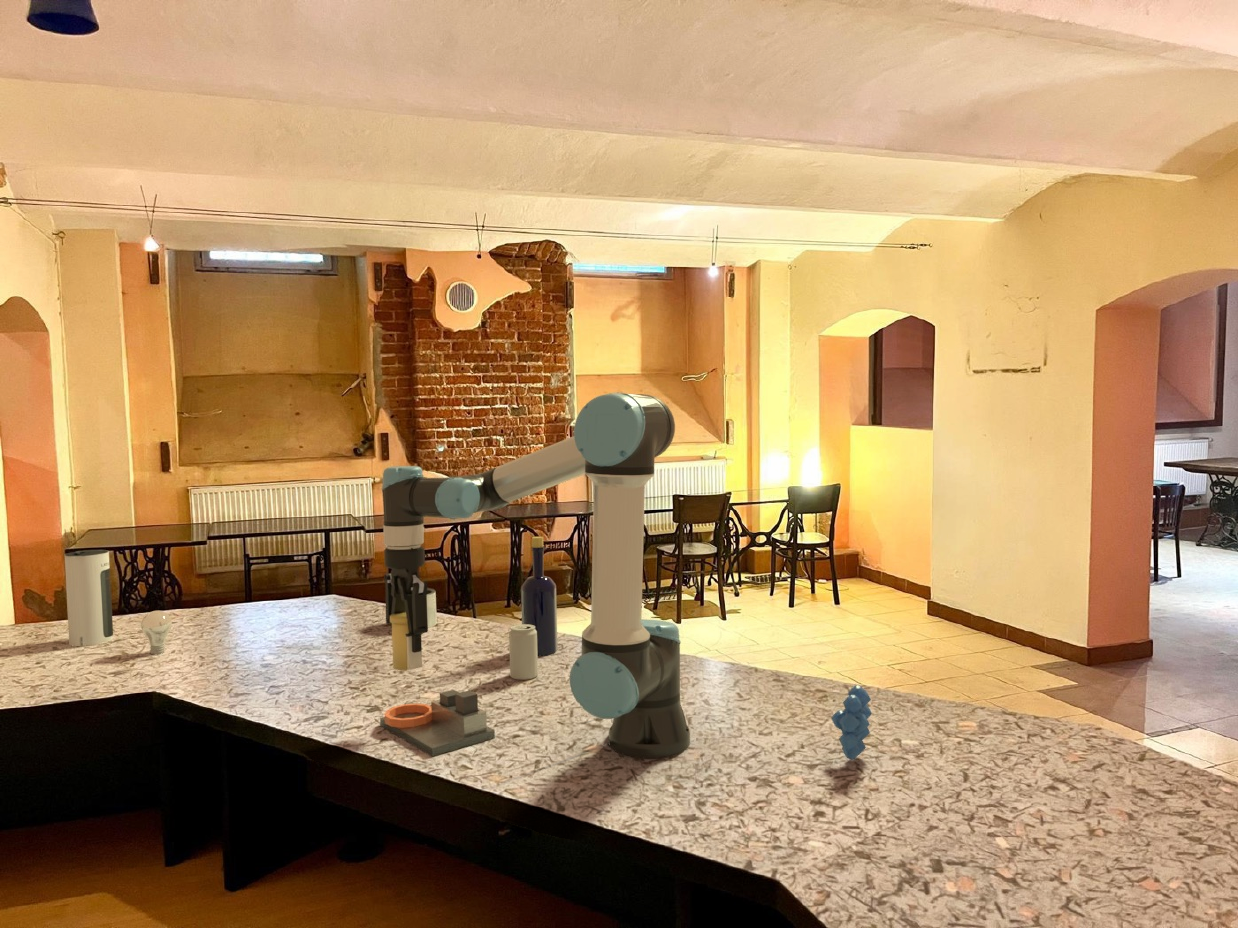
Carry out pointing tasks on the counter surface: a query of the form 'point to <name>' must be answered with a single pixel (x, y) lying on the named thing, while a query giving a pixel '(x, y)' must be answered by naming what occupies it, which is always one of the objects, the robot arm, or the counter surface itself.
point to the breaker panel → (444, 729)
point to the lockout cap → (399, 640)
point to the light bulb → (156, 630)
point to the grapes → (853, 722)
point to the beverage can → (523, 652)
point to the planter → (431, 607)
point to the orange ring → (408, 721)
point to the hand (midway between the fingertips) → (407, 664)
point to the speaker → (88, 597)
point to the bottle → (540, 603)
